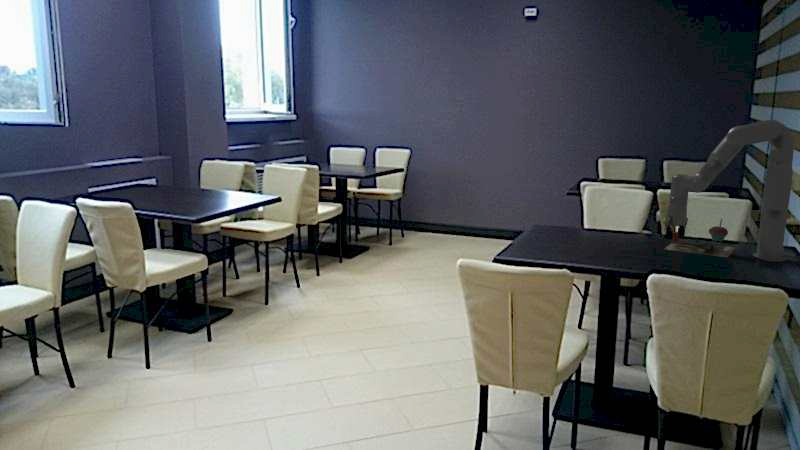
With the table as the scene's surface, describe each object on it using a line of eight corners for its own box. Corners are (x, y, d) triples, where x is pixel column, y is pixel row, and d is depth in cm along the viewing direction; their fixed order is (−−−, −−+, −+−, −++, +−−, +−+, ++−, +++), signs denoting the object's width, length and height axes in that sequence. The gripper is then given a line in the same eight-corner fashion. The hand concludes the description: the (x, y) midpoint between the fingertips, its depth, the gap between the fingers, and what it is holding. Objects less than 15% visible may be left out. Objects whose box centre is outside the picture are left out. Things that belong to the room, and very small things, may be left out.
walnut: (710, 251, 270) (711, 243, 269) (709, 253, 266) (710, 244, 266) (701, 250, 272) (702, 242, 271) (699, 252, 269) (700, 243, 268)
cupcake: (730, 242, 295) (733, 218, 293) (712, 242, 295) (715, 218, 293) (721, 239, 304) (724, 215, 301) (704, 238, 304) (707, 215, 301)
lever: (724, 249, 273) (726, 237, 272) (723, 251, 269) (724, 238, 268) (672, 243, 286) (673, 231, 285) (669, 245, 282) (671, 232, 281)
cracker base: (735, 250, 279) (736, 242, 279) (727, 260, 260) (728, 252, 259) (674, 242, 294) (675, 235, 293) (663, 251, 275) (664, 244, 274)
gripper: (681, 199, 287) (677, 234, 290) (660, 201, 277) (656, 238, 281) (696, 201, 281) (692, 237, 284) (675, 203, 271) (671, 241, 275)
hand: (674, 237), depth 282 cm, fingers open, 9 cm apart
